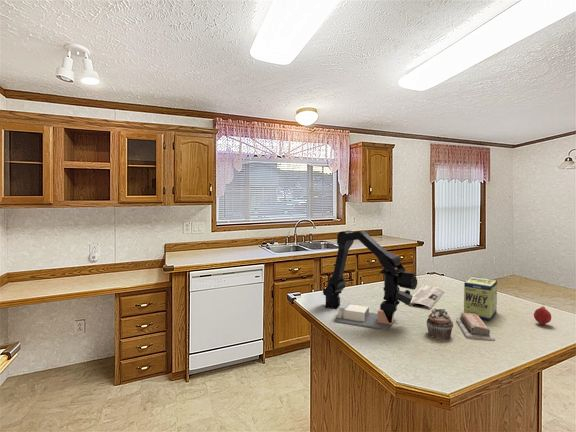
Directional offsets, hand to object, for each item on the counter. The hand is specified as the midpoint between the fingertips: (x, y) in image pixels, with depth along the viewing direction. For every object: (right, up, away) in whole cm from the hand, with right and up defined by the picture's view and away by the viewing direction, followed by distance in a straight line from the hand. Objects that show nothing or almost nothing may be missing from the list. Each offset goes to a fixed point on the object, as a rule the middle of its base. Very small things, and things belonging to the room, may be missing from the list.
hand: (391, 320), depth 137 cm
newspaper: (+30, 0, +34) cm, 45 cm away
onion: (+63, -1, -4) cm, 63 cm away
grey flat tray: (-10, -1, +5) cm, 12 cm away
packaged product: (+32, -2, -8) cm, 32 cm away
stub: (-2, -1, +1) cm, 2 cm away
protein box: (+45, 0, +10) cm, 46 cm away
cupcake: (+15, -2, -12) cm, 19 cm away
